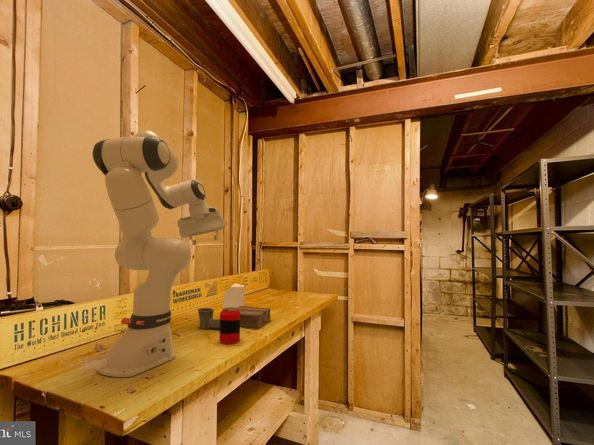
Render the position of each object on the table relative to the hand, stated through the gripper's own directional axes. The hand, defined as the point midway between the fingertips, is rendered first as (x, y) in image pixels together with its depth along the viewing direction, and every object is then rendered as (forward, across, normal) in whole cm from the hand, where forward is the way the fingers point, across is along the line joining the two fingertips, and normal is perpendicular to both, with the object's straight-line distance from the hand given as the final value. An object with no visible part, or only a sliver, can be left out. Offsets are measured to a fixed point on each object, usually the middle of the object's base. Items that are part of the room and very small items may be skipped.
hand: (205, 242), depth 131 cm
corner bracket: (+29, +5, +43) cm, 52 cm away
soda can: (+44, +2, -11) cm, 45 cm away
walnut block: (+39, +10, +11) cm, 42 cm away
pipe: (+37, -6, +6) cm, 38 cm away
